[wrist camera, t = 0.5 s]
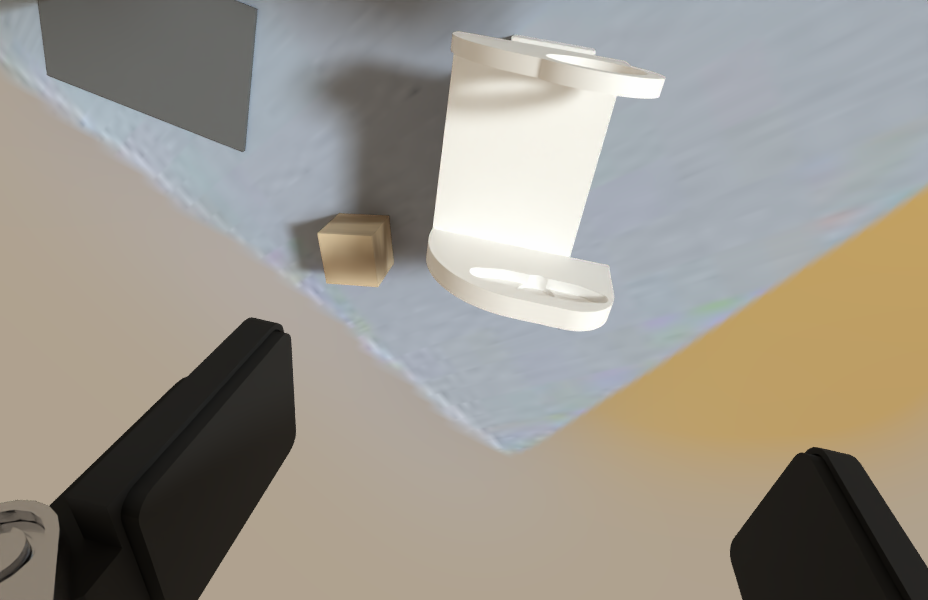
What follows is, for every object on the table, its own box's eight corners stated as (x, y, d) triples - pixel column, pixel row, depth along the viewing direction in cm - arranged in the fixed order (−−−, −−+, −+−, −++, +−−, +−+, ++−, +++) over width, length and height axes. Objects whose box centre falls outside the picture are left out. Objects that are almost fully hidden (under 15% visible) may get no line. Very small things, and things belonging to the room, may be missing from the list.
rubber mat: (30, -82, 39) (27, -83, 39) (257, 8, 39) (255, 9, 39) (50, 74, 45) (47, 74, 45) (244, 151, 46) (243, 151, 45)
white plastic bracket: (480, 26, 37) (421, 39, 22) (650, 56, 36) (712, 91, 21) (455, 202, 45) (397, 303, 29) (596, 231, 44) (612, 350, 29)
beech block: (339, 213, 47) (317, 233, 43) (389, 215, 47) (371, 236, 42) (346, 259, 50) (326, 283, 46) (394, 262, 49) (378, 287, 45)
